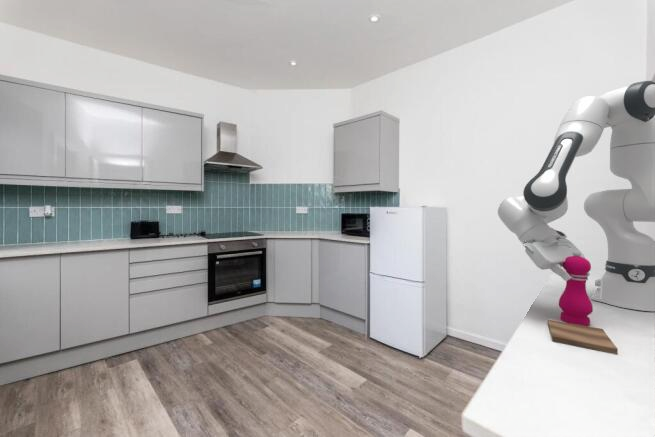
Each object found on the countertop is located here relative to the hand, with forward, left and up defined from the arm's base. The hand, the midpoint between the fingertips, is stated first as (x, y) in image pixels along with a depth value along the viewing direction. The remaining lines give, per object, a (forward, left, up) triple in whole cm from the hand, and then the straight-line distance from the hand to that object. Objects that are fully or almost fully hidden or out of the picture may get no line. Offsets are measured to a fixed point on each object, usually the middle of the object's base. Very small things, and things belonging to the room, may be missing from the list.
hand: (578, 278), depth 79 cm
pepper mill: (0, -1, -13) cm, 13 cm away
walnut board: (+13, -2, -12) cm, 18 cm away
